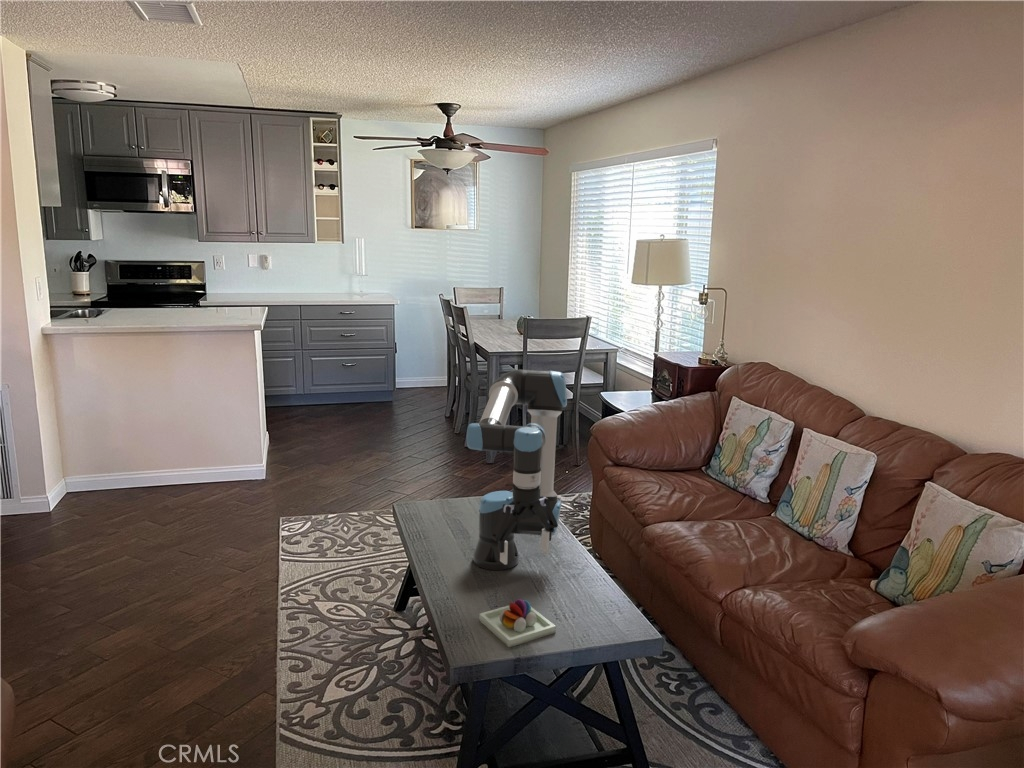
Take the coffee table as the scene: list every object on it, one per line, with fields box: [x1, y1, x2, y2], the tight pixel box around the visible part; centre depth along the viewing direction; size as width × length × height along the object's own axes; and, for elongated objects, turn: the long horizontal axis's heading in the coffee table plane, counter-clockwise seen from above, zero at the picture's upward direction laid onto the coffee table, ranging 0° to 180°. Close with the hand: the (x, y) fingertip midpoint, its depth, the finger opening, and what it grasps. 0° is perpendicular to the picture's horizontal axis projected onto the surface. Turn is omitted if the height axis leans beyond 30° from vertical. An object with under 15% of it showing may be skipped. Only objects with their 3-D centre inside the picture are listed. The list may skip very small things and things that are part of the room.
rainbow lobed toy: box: [499, 598, 537, 632], centre depth 201 cm, size 8×10×7 cm
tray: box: [478, 604, 557, 648], centre depth 202 cm, size 16×15×2 cm
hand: (524, 557), depth 201 cm, fingers open, 13 cm apart
